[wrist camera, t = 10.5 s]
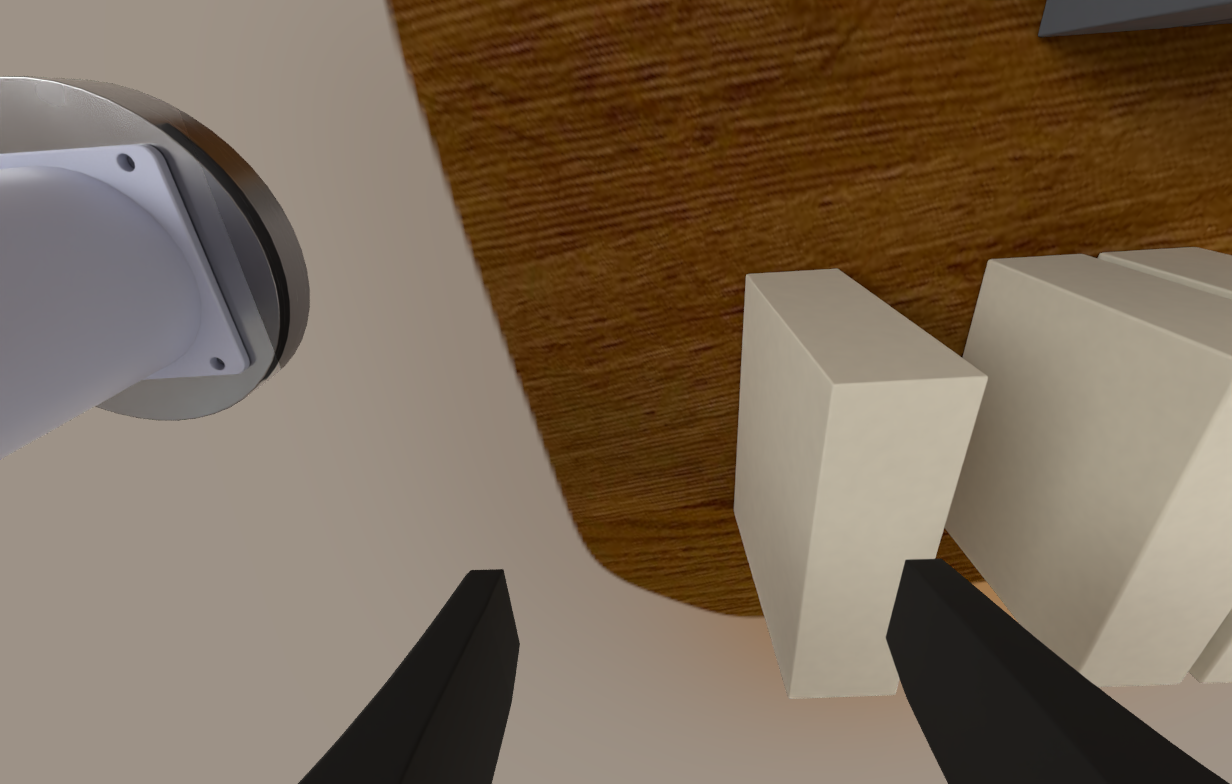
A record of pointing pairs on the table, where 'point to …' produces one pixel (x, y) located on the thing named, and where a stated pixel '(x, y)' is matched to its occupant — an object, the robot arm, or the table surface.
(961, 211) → the table surface
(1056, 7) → the grey book
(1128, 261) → the white book
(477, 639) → the robot arm
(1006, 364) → the white book
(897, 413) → the white book
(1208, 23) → the grey book
